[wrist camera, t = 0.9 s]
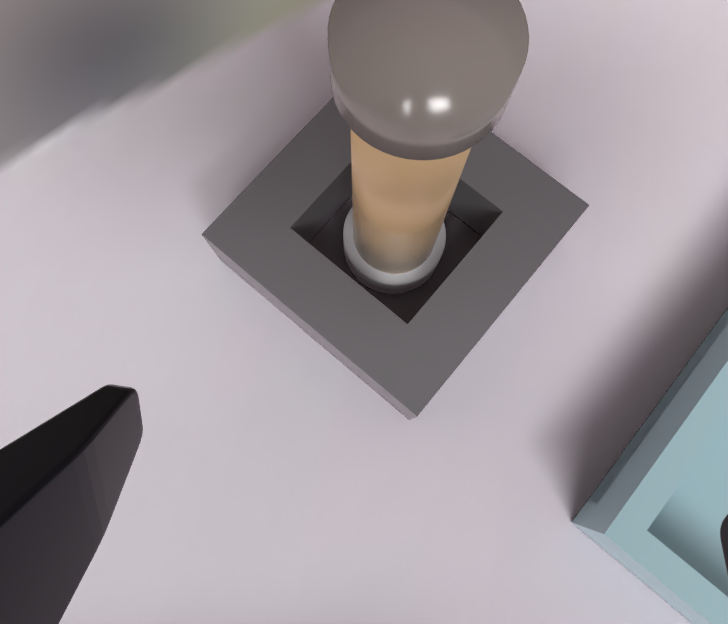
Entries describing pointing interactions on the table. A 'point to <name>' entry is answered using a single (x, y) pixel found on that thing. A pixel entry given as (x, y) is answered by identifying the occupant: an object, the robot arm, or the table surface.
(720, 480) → the parts tray
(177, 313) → the table surface
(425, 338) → the socket block
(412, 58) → the fuse
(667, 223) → the table surface
